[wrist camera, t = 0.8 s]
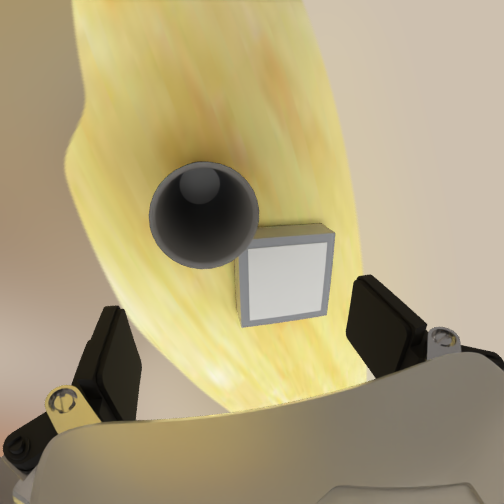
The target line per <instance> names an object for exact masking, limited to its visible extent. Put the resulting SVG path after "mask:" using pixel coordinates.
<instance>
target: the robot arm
mask: <svg viewBox="0 0 504 504" xmlns="http://www.w3.org/2000/svg"><path fill="white" fill-rule="evenodd" d="M426 327H427V324H426V323H425V322H424V321H423V320H422V319H421V318H420V317H419V316H417V314H416V313H414V312H413V311H412V310H411V309H410V308H409V307H408V306H407V305H406V304H404V303H403V302H402V301H401V300H400V299H399V298H398V297H397V296H395V295H394V294H393V293H392V292H391V291H390V290H389V289H387V288H386V287H385V286H384V285H383V284H382V283H381V282H379V281H378V280H377V279H376V278H375V277H374V276H372V275H364V276H359V277H358V278H357V280H355V281H354V283H353V290H352V297H351V303H350V310H349V316H348V322H347V328H346V336H347V339H348V340H349V342H350V343H351V344H352V346H353V347H354V348H355V350H356V351H357V353H358V354H359V355H360V357H361V358H362V360H363V361H364V362H365V364H366V365H367V367H368V368H369V369H370V371H371V372H372V373H373V375H374V376H375V378H376V379H374V380H371V381H368V382H365V383H361V384H358V385H355V386H351V387H348V388H345V389H341V390H337V391H334V392H330V393H326V394H323V395H319V396H315V397H311V398H306V399H302V400H298V401H293V402H288V403H284V404H279V405H274V406H268V407H263V408H257V409H251V410H245V411H238V412H232V413H225V414H216V415H207V416H197V417H186V418H173V419H157V420H136V411H137V402H138V394H139V385H140V378H141V370H142V364H141V359H140V356H139V354H138V351H137V348H136V345H135V342H134V339H133V336H132V332H131V329H130V326H129V323H128V319H127V316H126V313H125V310H124V309H120V307H119V306H106V307H104V309H103V311H102V313H101V316H100V318H99V321H98V323H97V325H96V328H95V330H94V333H93V335H92V338H91V340H89V341H88V342H87V344H86V347H85V349H84V352H83V354H82V357H81V360H80V362H79V366H78V368H77V370H76V373H75V376H74V379H73V382H72V385H62V386H59V387H56V388H55V389H53V390H52V391H51V392H50V393H49V394H48V395H47V397H46V399H45V409H46V412H45V413H43V414H42V415H40V416H38V417H37V418H35V419H34V420H32V421H30V422H29V423H27V424H25V425H24V426H22V427H21V428H19V429H17V430H16V431H14V432H12V433H11V434H10V435H9V436H8V437H7V438H6V440H5V442H4V445H3V452H4V455H3V456H2V458H1V457H0V504H504V361H503V360H502V358H501V357H500V356H499V355H498V354H496V353H495V352H491V351H486V350H481V349H476V348H472V347H467V346H463V345H461V344H460V339H459V336H458V335H457V334H456V333H455V332H454V331H452V330H450V329H448V328H445V327H434V328H432V329H431V330H430V331H429V332H427V330H426Z"/></svg>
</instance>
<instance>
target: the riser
mask: <svg viewBox="0 0 504 504" xmlns="http://www.w3.org/2000/svg"><path fill="white" fill-rule="evenodd" d="M334 241H335V232H333V231H332V230H330V229H329V228H327V227H326V226H324V225H323V224H322V223H316V224H300V225H284V226H269V227H257V231H256V233H255V236H254V238H253V240H252V242H251V243H250V245H249V246H248V247H247V249H246V250H245V251H244V252H243V253H242V254H241V255H240V256H239V257H237V258H236V259H234V267H235V288H236V308H237V313H238V317H239V320H240V324H241V328H242V327H251V326H258V325H266V324H273V323H280V322H287V321H294V320H300V319H306V318H312V317H318V316H324V315H327V308H328V300H329V292H330V283H331V274H332V264H333V253H334Z"/></svg>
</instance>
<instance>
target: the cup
mask: <svg viewBox="0 0 504 504" xmlns="http://www.w3.org/2000/svg"><path fill="white" fill-rule="evenodd" d="M149 222H150V228H151V232H152V235H153V237H154V239H155V241H156V243H157V245H158V246H159V248H160V249H161V250H162V251H163V252H164V253H165V254H166V255H167V256H168V257H169V258H171V259H172V260H173V261H175V262H177V263H179V264H181V265H184V266H187V267H190V268H196V269H211V268H215V267H220V266H223V265H225V264H227V263H229V262H231V261H233V260H234V259H236V258H237V257H239V256H240V255H241V254H242V253H243V252H244V251H245V250H246V249H247V247H248V246H249V245H250V243H251V242H252V240H253V238H254V236H255V233H256V231H257V227H258V222H259V207H258V202H257V198H256V196H255V193H254V191H253V189H252V188H251V186H250V185H249V183H248V182H247V181H246V180H245V179H244V178H243V177H242V176H241V175H240V174H239V173H238V172H236V171H235V170H233V169H232V168H230V167H227V166H225V165H222V164H219V163H213V162H194V163H191V164H187V165H185V166H183V167H181V168H179V169H176V170H175V171H174V172H172V173H171V174H169V175H168V176H167V177H166V178H165V179H164V180H163V181H162V182H161V184H160V185H159V186H158V188H157V190H156V191H155V193H154V195H153V198H152V201H151V204H150V211H149Z"/></svg>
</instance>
